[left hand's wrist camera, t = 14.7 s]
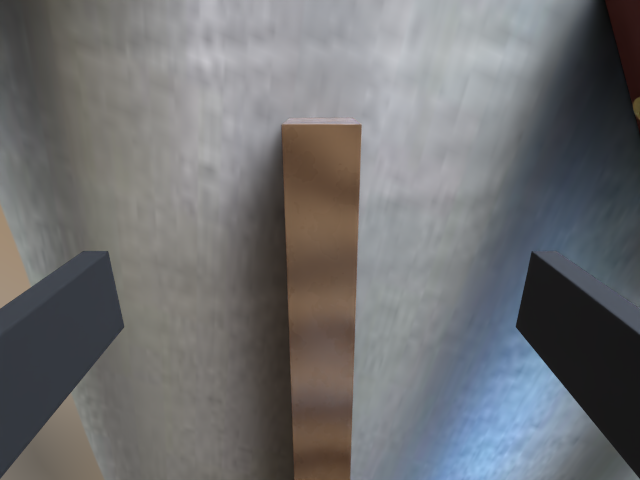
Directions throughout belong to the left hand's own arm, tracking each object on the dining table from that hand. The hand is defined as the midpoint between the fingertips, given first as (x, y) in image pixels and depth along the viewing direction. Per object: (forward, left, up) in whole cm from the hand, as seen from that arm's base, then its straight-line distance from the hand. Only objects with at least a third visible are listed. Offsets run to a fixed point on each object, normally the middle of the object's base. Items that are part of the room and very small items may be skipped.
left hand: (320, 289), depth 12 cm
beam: (+21, 0, -25) cm, 33 cm away
